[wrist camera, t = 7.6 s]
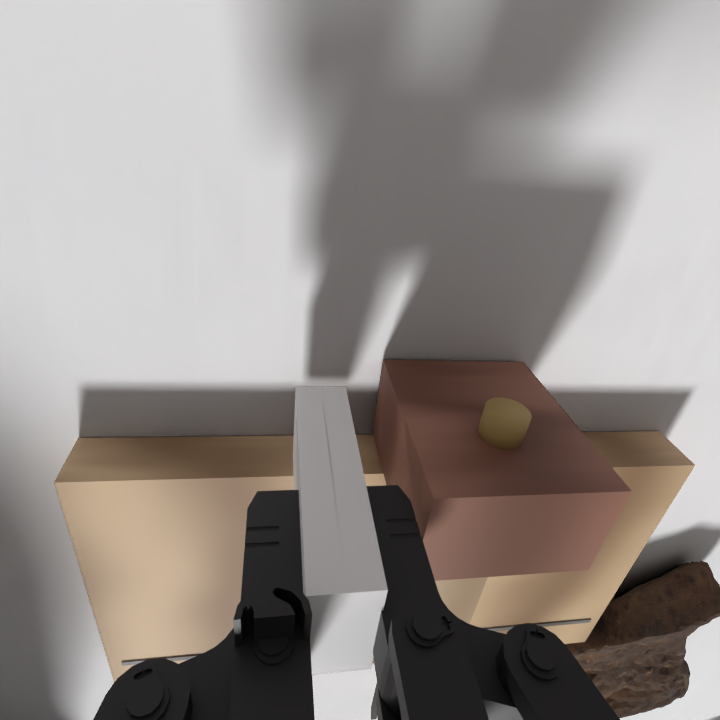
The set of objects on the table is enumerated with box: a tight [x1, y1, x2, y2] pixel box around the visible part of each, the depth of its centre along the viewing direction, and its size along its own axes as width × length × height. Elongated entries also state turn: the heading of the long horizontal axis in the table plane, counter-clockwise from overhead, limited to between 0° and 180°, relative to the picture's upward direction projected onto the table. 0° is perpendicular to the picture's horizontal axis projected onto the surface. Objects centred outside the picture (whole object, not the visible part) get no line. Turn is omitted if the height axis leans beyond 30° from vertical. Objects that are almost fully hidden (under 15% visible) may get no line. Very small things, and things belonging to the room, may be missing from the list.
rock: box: [565, 561, 720, 718], centre depth 26 cm, size 11×10×4 cm
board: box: [54, 431, 695, 682], centre depth 20 cm, size 22×12×2 cm, turn 84°
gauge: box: [372, 360, 632, 624], centre depth 17 cm, size 5×15×6 cm, turn 174°
